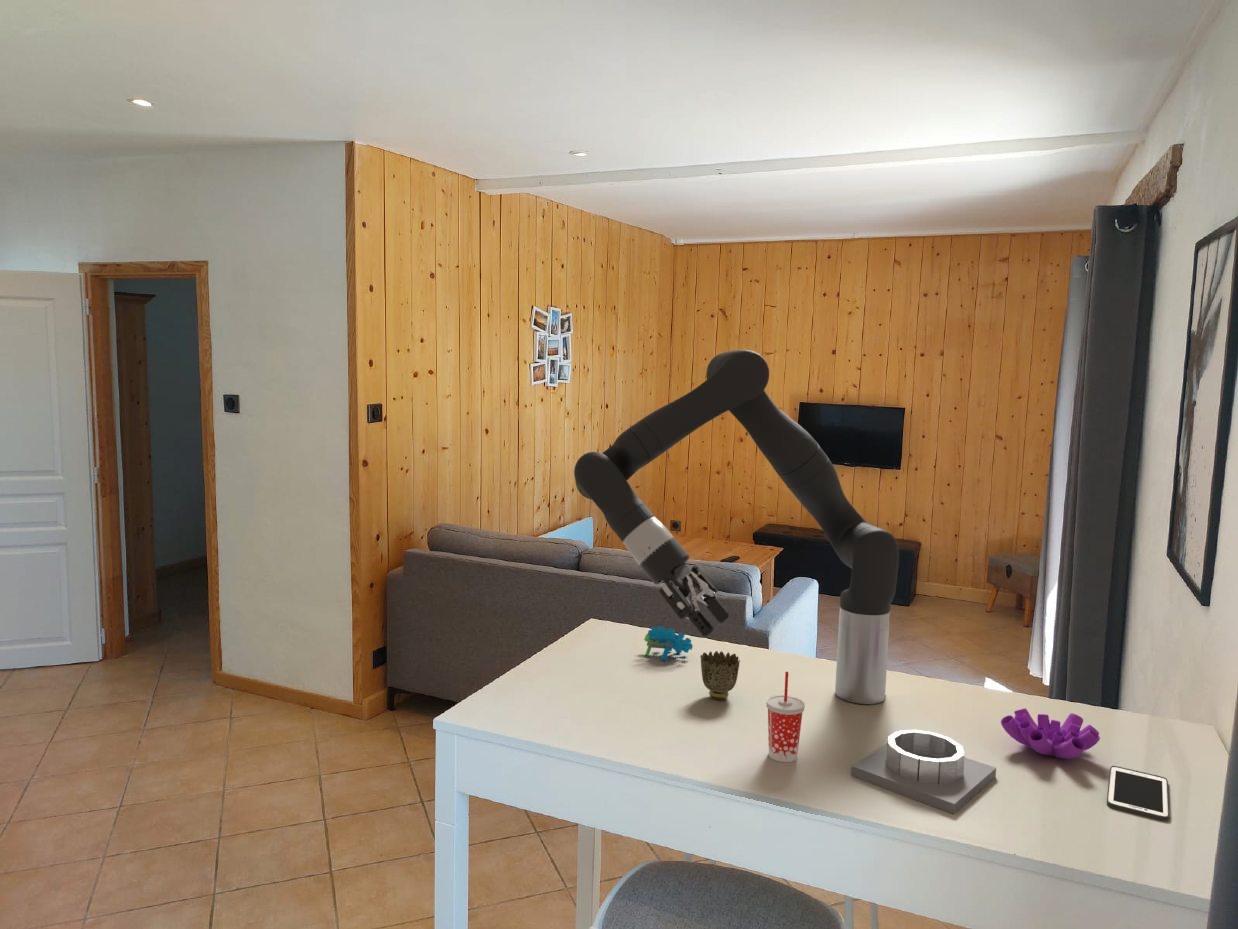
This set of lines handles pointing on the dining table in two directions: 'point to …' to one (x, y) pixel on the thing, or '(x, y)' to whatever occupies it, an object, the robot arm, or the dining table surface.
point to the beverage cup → (784, 725)
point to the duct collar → (924, 768)
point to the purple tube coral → (1051, 734)
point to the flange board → (931, 794)
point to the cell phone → (1138, 793)
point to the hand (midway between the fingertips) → (718, 626)
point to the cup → (719, 673)
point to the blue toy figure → (666, 641)
